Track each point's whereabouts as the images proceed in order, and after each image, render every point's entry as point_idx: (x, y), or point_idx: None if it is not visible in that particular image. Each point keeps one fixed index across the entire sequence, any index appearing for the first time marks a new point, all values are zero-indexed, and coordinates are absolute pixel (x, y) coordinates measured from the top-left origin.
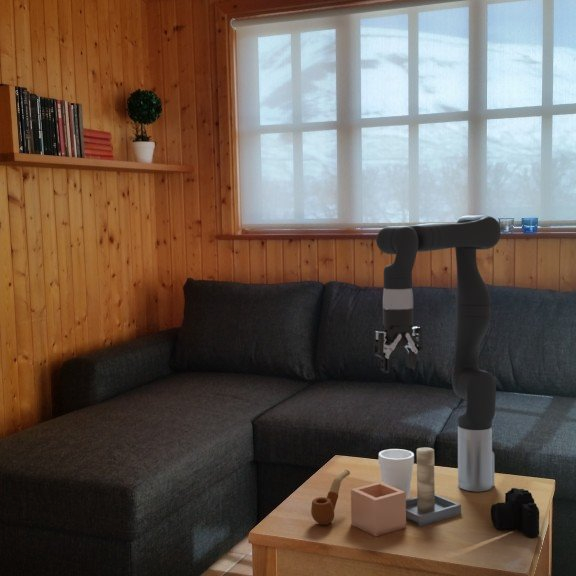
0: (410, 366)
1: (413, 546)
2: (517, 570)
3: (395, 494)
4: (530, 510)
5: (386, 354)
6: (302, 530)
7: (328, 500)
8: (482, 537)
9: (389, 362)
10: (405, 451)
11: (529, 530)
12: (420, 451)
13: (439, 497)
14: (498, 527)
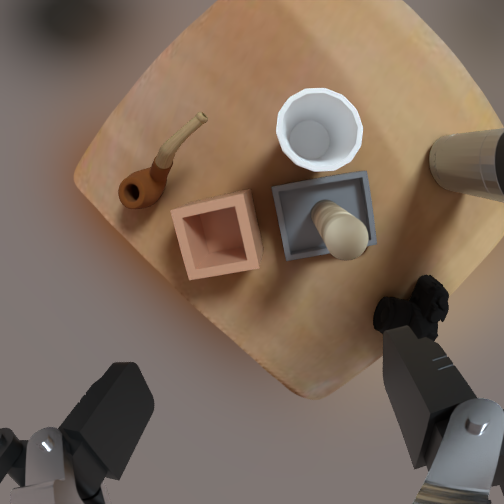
0: (387, 362)
1: (239, 309)
2: (312, 398)
3: (235, 270)
4: None
5: (81, 498)
6: None
7: (140, 198)
8: (341, 323)
9: (130, 456)
10: (353, 117)
11: None
12: (329, 243)
13: (365, 199)
14: (375, 317)
